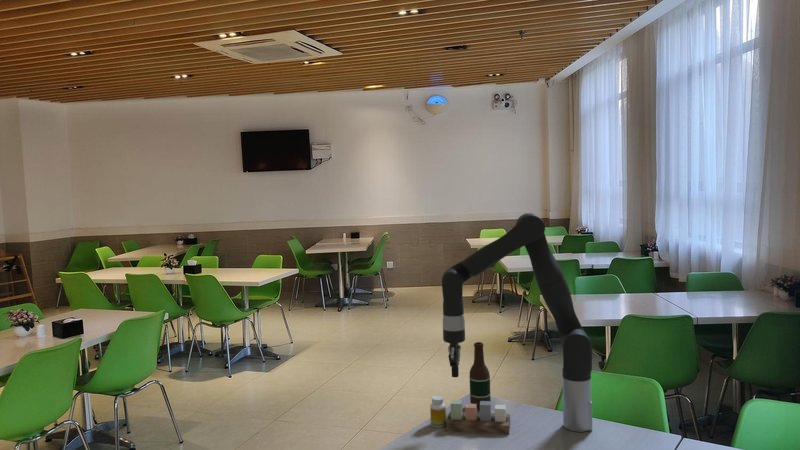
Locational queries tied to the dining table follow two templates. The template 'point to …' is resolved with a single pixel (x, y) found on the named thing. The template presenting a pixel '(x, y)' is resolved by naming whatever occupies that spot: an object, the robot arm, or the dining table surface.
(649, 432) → the dining table surface
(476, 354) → the beer bottle
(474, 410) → the salmon pink block
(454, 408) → the key sage
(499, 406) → the key ivory
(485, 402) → the key slate
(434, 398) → the supplement bottle
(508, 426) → the brown wooden slotted tray
